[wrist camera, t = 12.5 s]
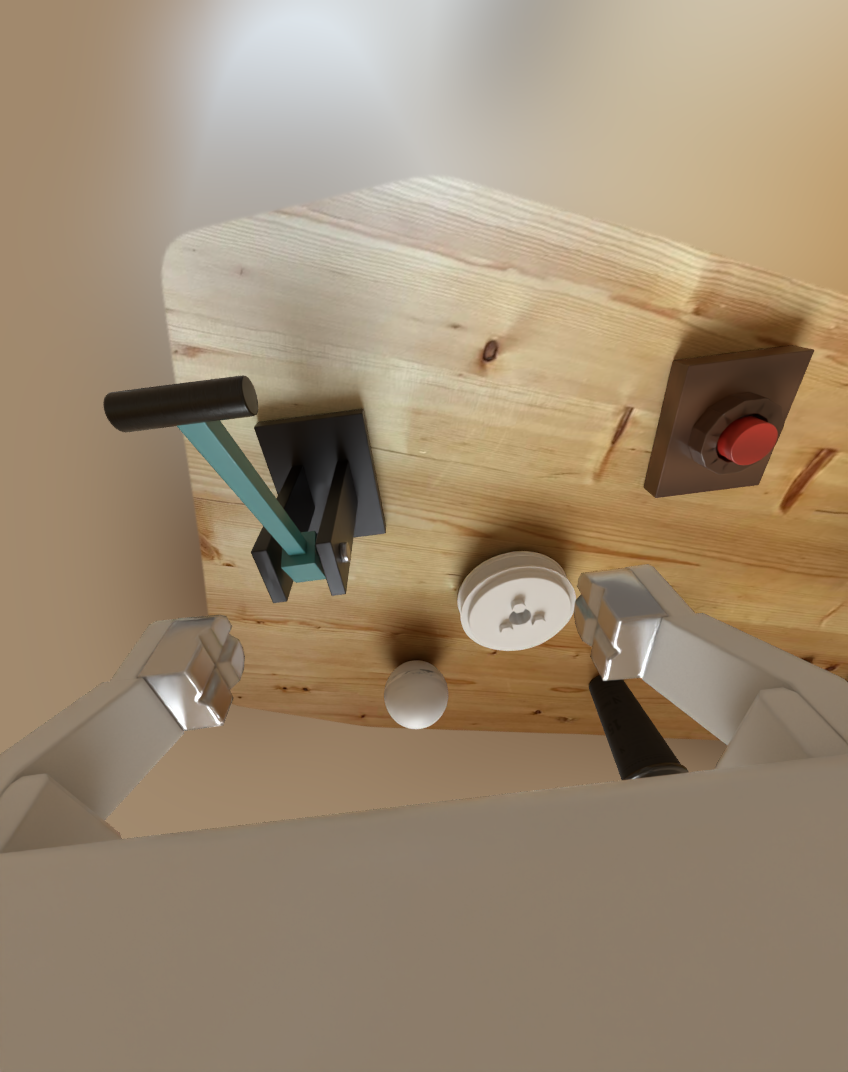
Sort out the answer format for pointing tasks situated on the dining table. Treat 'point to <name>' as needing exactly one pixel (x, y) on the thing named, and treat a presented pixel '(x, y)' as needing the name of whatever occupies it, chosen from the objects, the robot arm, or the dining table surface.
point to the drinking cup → (631, 733)
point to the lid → (515, 601)
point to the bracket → (320, 492)
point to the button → (747, 440)
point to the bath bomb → (416, 694)
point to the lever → (219, 451)
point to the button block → (719, 416)
